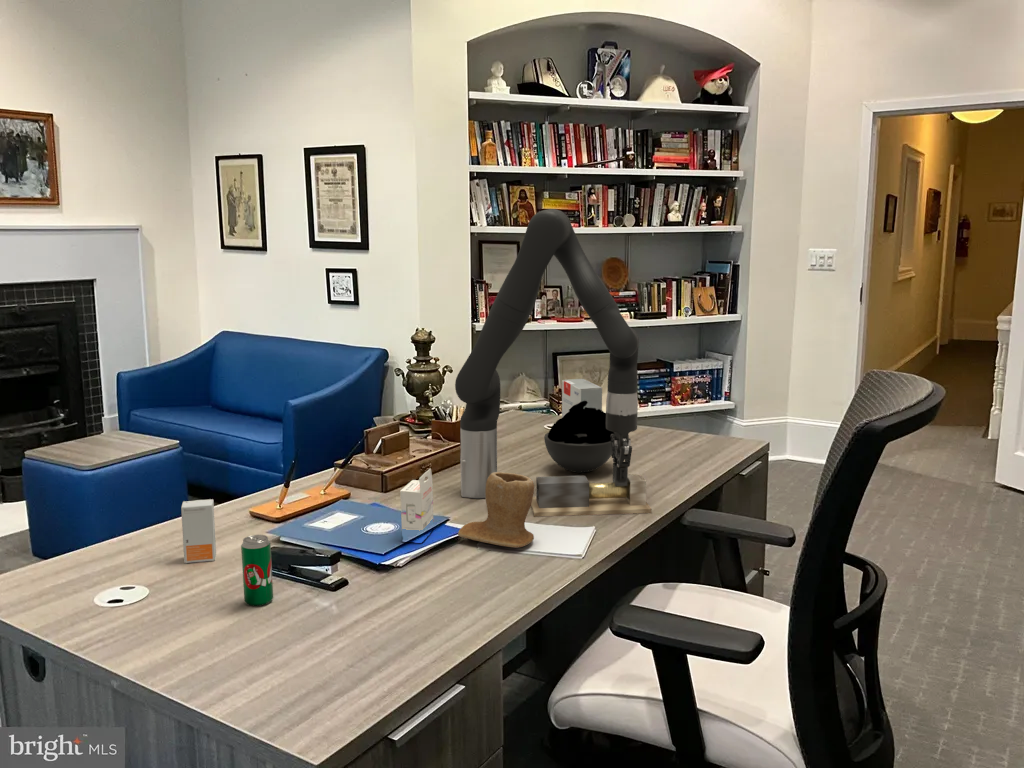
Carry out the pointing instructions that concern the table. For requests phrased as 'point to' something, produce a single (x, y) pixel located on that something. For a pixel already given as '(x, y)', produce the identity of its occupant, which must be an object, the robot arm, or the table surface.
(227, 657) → the table surface
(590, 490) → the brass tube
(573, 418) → the coal bowl
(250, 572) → the soda can
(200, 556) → the skincare box
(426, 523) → the ink cartridge box
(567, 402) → the hard drive box
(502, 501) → the brown felt boot
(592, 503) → the tube stand
